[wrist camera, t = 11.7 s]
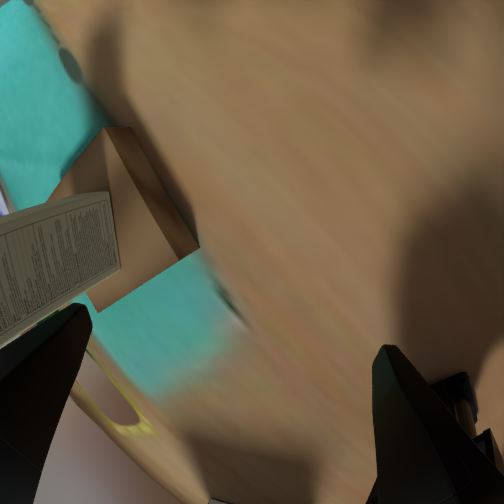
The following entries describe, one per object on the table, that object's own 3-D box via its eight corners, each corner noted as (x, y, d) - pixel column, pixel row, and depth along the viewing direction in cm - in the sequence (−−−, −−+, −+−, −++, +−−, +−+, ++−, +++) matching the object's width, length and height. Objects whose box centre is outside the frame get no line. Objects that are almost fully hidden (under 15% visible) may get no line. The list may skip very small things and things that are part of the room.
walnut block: (203, 245, 24) (179, 260, 21) (122, 297, 28) (98, 313, 25) (134, 126, 23) (103, 126, 20) (69, 200, 27) (42, 207, 24)
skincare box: (74, 194, 22) (-61, 234, 11) (113, 190, 21) (-42, 234, 10) (86, 269, 24) (-33, 334, 13) (124, 274, 23) (-6, 354, 12)
